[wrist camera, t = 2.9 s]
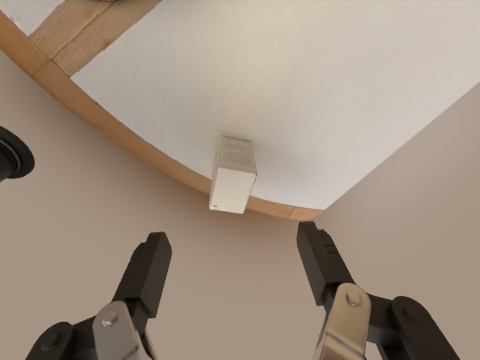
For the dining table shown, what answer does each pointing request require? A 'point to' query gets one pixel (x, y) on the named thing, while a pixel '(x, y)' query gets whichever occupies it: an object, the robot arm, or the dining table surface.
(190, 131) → the dining table surface
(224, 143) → the small box
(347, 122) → the dining table surface
